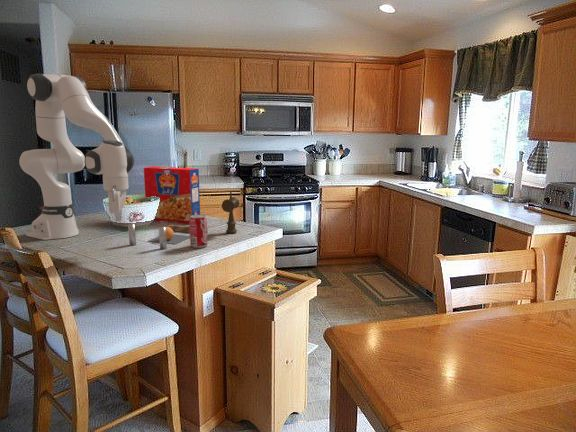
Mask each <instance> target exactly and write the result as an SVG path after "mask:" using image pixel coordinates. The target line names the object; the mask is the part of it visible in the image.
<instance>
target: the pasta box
mask: <svg viewBox="0 0 576 432" xmlns="http://www.w3.org/2000/svg"><path fill="white" fill-rule="evenodd" d="M199 173H200V170H199V168H194V167H173V166H170V167H169V166H154V165H153V166H147V167H146V166H145V167H143V179H144V181H143V182H144V194H145V195H144V196H145V197H151V196H156V197H159V198H160V202H159V206H158V209H157V213H156V216H155V219H154V221H153V222H160V221H161V222H162V223H171V224H172V223H173V224H181V223H182V225H189V220H190V216H192V215H201V199H200V174H199Z"/></svg>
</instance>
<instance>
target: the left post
mask: <svg viewBox="0 0 576 432" xmlns="http://www.w3.org/2000/svg"><path fill="white" fill-rule="evenodd" d="M127 226H128V243H129V244H128V245H129V247H132V246H133V247H134V246H136V245H137V239H136V238H137V237H136V223H128V224H127Z"/></svg>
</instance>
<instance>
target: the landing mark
mask: <svg viewBox="0 0 576 432" xmlns="http://www.w3.org/2000/svg"><path fill="white" fill-rule="evenodd" d="M186 240H190V235H187V234H186V235H183V234H176V233H175V234H174V235H173V237H172V238H171V239H170V240H166V245H169V244H170V245H177V244H179V243H182V242H184V241H186ZM149 242H151V243H159V244H160V238H159V236H157V237H154V238H151V239H148V243H149Z"/></svg>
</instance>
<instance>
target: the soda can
mask: <svg viewBox="0 0 576 432" xmlns="http://www.w3.org/2000/svg"><path fill="white" fill-rule="evenodd" d="M188 226H190V233H189V236H190V238H189V242H190V244H189V245H190V246H191V247H192V248H194V249H204V248H205V247H207V246H208V244H209V241H208V240H209V237H208V233H207V231H208V220H207V218H206V215H205V214H200V215H192V216H190V220H189V224H188Z"/></svg>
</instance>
